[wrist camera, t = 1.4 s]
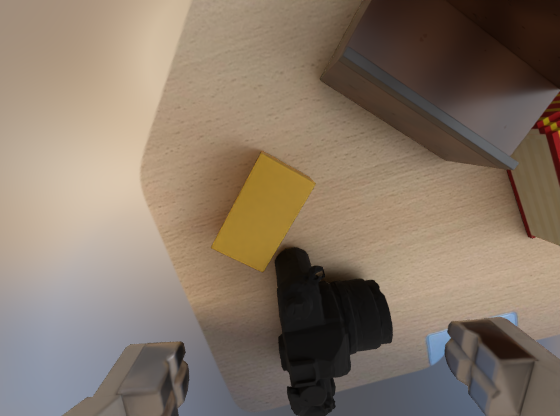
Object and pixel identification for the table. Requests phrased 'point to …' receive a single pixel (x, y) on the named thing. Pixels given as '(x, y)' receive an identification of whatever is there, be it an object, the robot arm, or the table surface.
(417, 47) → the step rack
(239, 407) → the table surface
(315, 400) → the film camera
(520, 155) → the book
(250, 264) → the yellow box
